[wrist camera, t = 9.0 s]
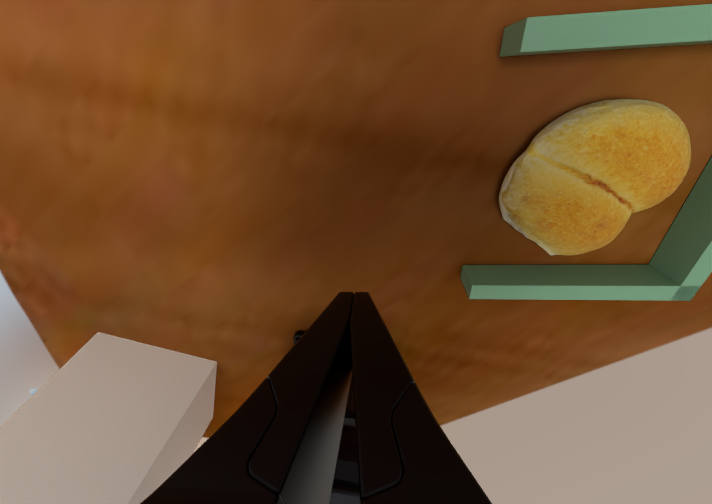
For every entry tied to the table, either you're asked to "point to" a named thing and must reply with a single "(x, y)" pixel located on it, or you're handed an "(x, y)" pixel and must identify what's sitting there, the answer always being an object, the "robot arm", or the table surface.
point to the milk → (107, 425)
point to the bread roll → (594, 173)
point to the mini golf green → (694, 221)
